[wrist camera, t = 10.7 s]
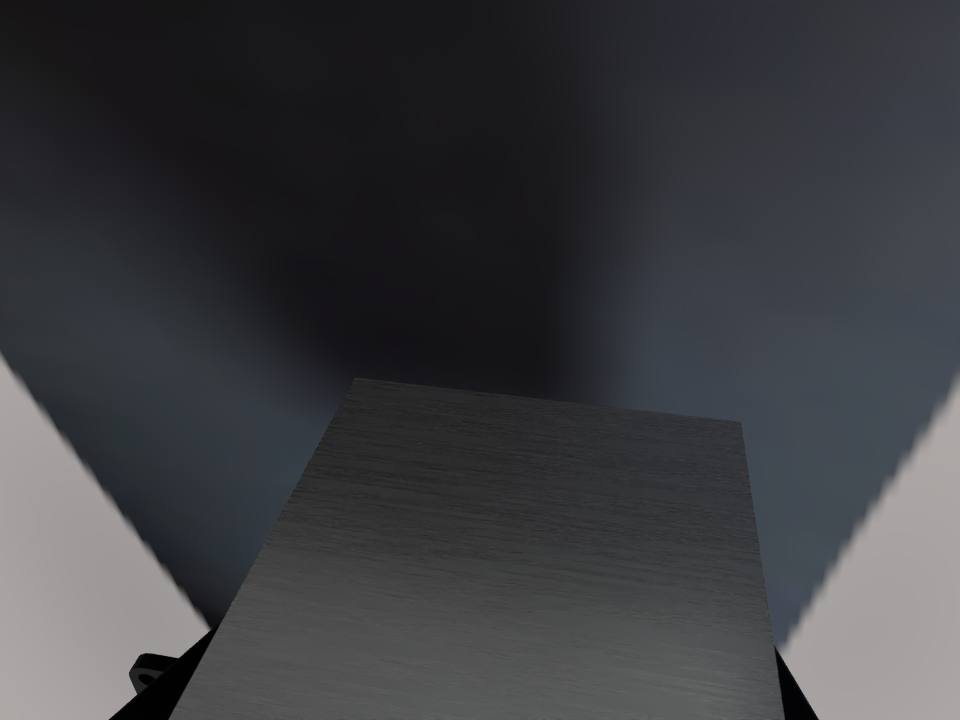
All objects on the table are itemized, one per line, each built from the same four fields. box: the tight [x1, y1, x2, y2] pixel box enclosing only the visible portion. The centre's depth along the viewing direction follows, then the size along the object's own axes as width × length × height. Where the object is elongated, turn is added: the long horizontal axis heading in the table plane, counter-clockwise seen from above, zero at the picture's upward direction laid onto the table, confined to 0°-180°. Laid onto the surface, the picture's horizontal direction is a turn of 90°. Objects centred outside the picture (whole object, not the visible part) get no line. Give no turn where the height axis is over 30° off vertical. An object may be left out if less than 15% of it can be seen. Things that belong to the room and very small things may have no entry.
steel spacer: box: [169, 378, 785, 720], centre depth 8 cm, size 4×4×4 cm
